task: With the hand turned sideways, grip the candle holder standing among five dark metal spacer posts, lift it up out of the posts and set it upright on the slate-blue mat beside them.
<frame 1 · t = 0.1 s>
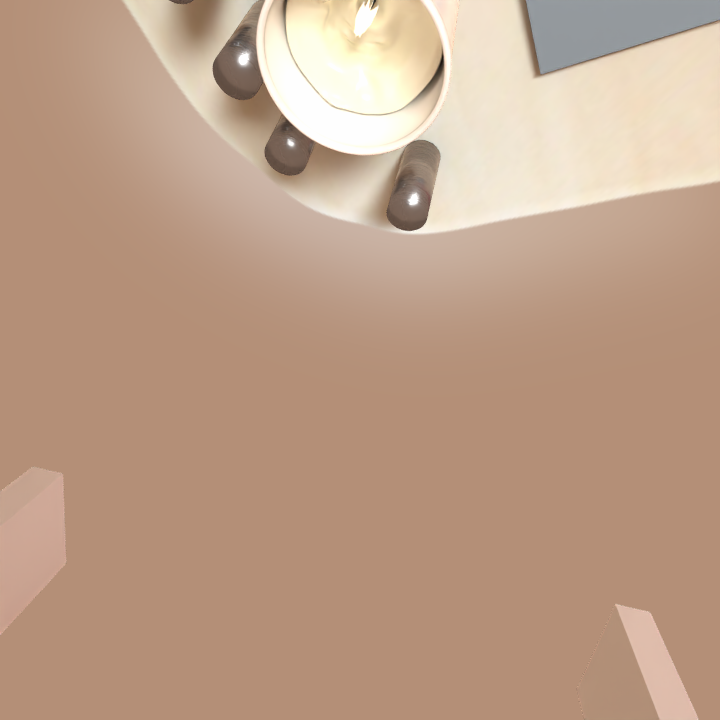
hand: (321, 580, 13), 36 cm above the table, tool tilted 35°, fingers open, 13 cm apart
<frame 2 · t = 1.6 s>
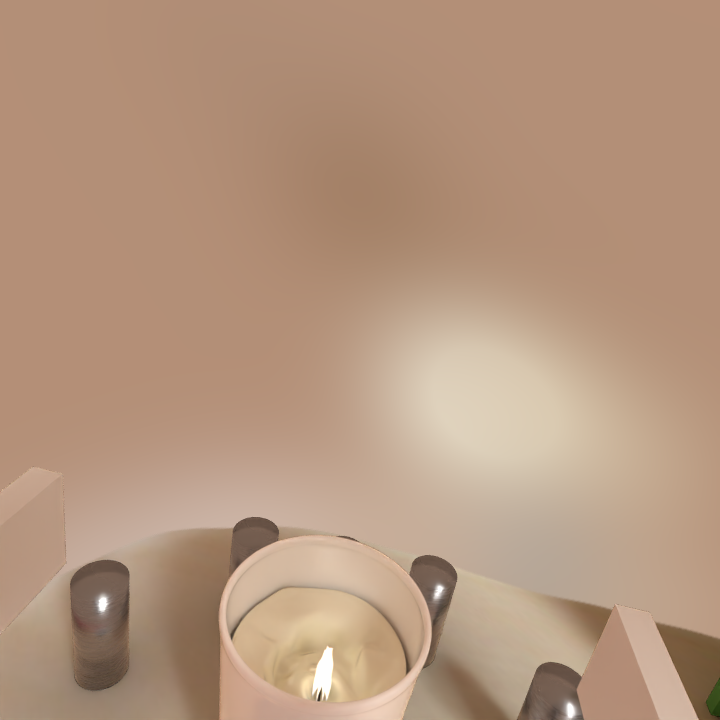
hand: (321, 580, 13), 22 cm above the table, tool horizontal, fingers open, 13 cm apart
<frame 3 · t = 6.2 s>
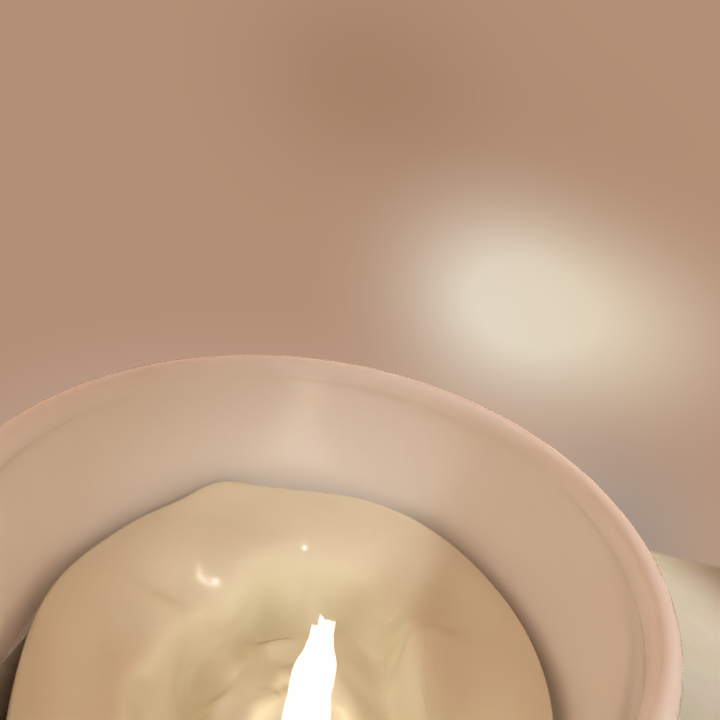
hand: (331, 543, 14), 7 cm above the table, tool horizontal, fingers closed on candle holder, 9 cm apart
when the fingers open (9 cm above the table, at t = 11.4 s): candle holder drops 1 cm, resting on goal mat.
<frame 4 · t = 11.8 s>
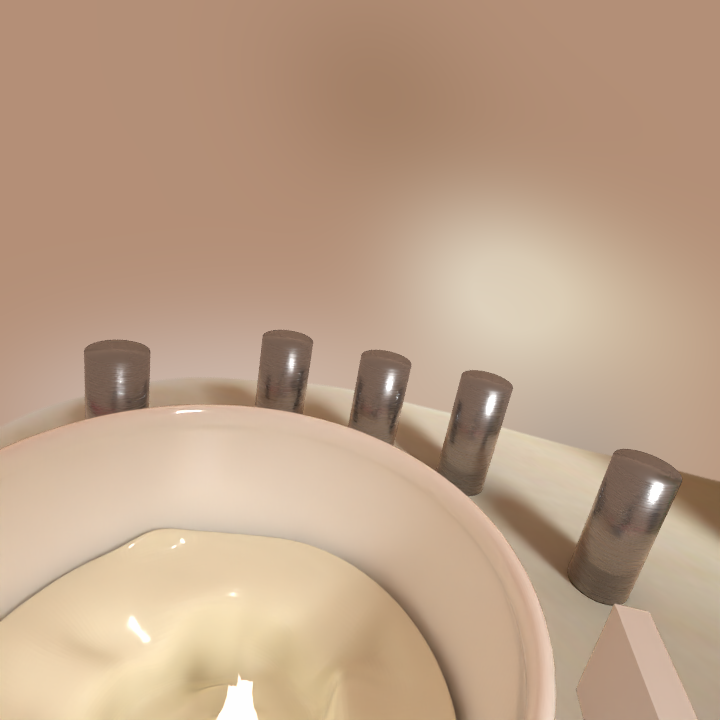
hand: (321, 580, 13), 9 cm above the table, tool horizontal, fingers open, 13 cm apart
spacer posts: (340, 563, 26), on the table
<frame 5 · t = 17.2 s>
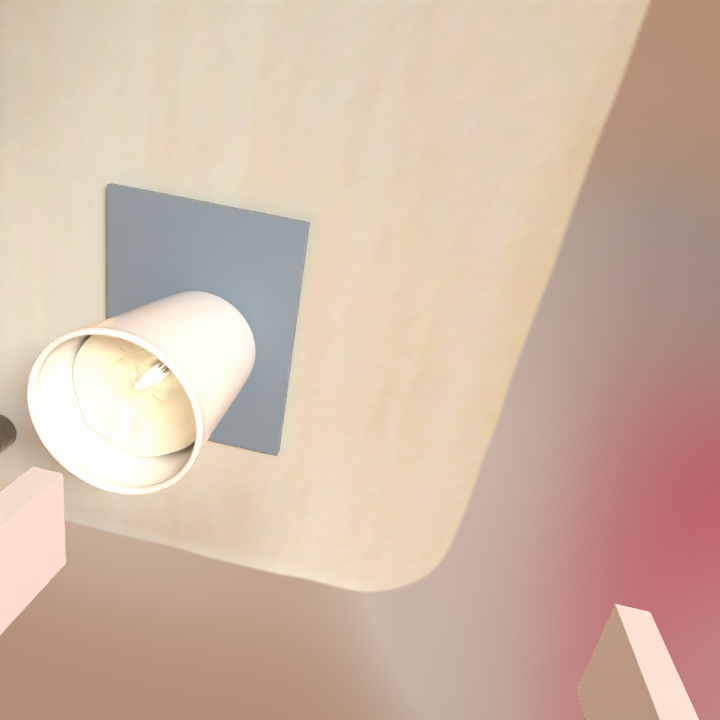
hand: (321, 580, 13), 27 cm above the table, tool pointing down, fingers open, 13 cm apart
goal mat: (201, 327, 41), on the table
spacer posts: (24, 289, 41), on the table
candle holder: (203, 344, 41), resting on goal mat
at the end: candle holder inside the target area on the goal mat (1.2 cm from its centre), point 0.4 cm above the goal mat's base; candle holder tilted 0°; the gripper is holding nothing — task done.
